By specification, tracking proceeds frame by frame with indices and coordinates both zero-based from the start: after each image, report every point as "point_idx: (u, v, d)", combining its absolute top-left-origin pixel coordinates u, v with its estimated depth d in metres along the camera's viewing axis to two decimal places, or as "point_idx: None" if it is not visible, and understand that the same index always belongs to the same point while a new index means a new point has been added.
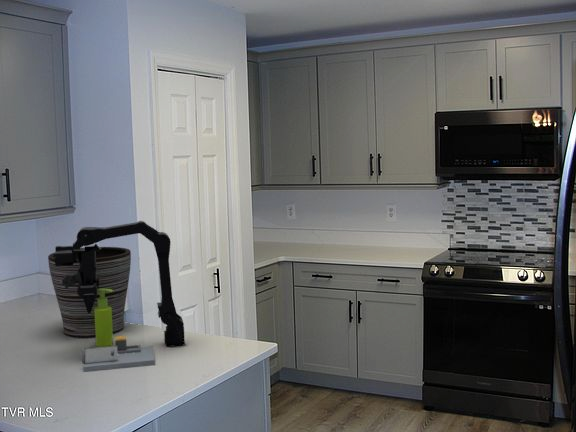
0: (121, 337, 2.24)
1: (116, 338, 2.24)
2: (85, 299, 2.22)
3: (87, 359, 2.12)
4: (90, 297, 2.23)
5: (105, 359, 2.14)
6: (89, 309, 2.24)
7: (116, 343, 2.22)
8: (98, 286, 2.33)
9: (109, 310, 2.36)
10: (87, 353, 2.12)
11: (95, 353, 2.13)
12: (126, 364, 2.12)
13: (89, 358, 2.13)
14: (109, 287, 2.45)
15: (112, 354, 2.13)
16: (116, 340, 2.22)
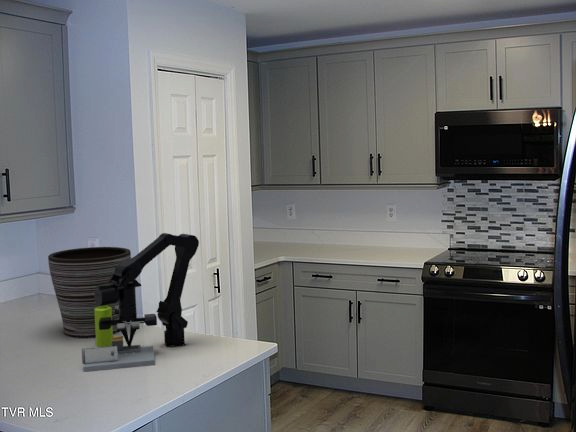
0: (118, 337, 2.24)
1: (113, 338, 2.23)
2: None
3: (87, 359, 2.12)
4: None
5: (105, 359, 2.14)
6: None
7: (113, 343, 2.22)
8: (130, 329, 2.22)
9: (109, 310, 2.35)
10: (87, 353, 2.12)
11: (95, 353, 2.13)
12: (126, 364, 2.12)
13: (89, 358, 2.13)
14: None
15: (112, 354, 2.13)
16: (113, 340, 2.22)
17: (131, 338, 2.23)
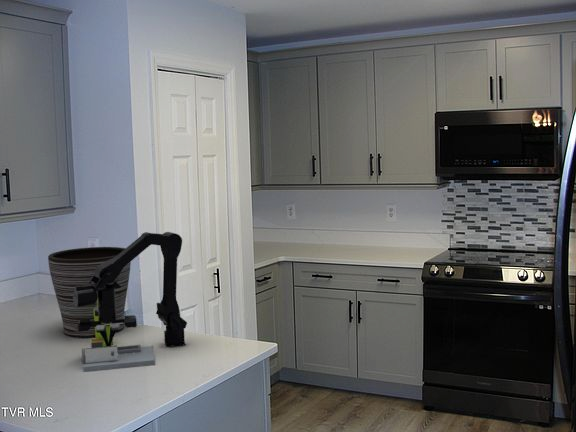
0: (97, 339, 2.22)
1: (93, 340, 2.22)
2: None
3: (87, 359, 2.12)
4: None
5: (105, 359, 2.14)
6: None
7: (92, 345, 2.21)
8: None
9: None
10: (87, 353, 2.12)
11: (95, 353, 2.13)
12: (126, 364, 2.12)
13: (89, 358, 2.13)
14: None
15: (112, 354, 2.13)
16: (92, 342, 2.21)
17: (110, 340, 2.22)
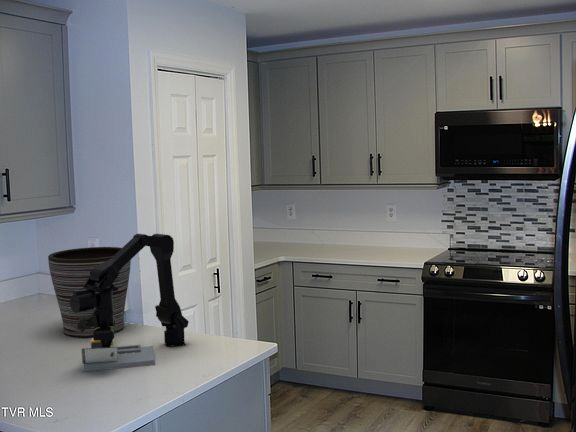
0: None
1: (92, 340, 2.22)
2: (102, 340, 2.13)
3: (87, 359, 2.12)
4: None
5: (105, 360, 2.13)
6: None
7: (92, 345, 2.21)
8: (114, 331, 2.16)
9: None
10: (87, 353, 2.12)
11: (95, 353, 2.12)
12: (126, 364, 2.12)
13: (89, 358, 2.12)
14: None
15: (111, 355, 2.12)
16: (92, 342, 2.21)
17: None
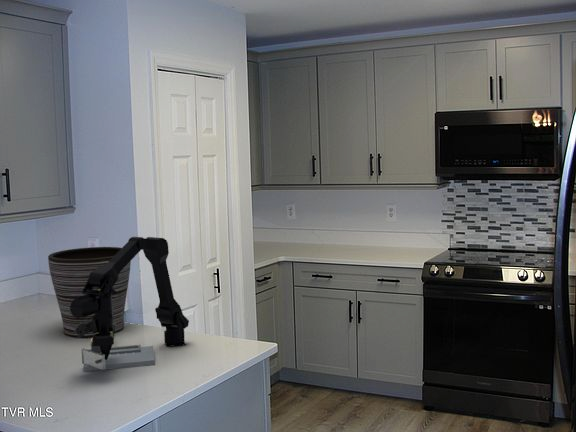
0: None
1: None
2: (101, 345, 2.07)
3: (84, 360, 2.12)
4: None
5: (95, 365, 2.08)
6: (105, 356, 2.09)
7: (92, 345, 2.21)
8: None
9: None
10: (84, 354, 2.11)
11: (89, 356, 2.10)
12: (126, 364, 2.12)
13: (85, 360, 2.11)
14: None
15: (96, 362, 2.06)
16: None
17: None
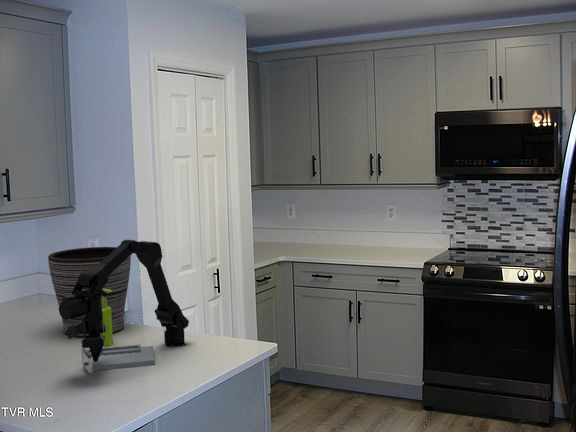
0: None
1: None
2: (91, 348, 2.04)
3: None
4: None
5: (86, 367, 2.07)
6: (96, 358, 2.06)
7: None
8: (104, 338, 2.07)
9: (108, 310, 2.35)
10: (82, 354, 2.11)
11: (84, 357, 2.09)
12: (126, 364, 2.12)
13: (83, 360, 2.11)
14: (109, 287, 2.45)
15: (83, 364, 2.04)
16: None
17: None
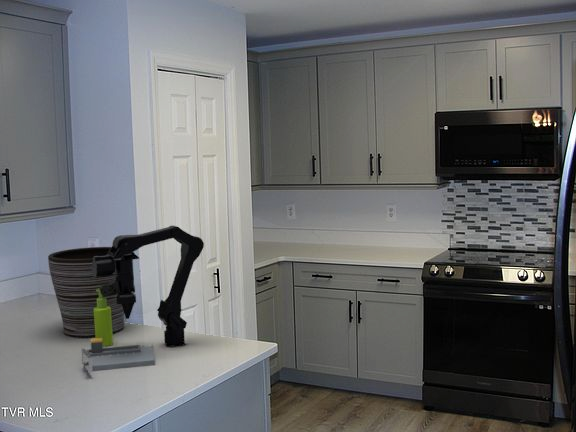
0: (97, 339, 2.22)
1: (92, 340, 2.22)
2: (124, 305, 2.24)
3: None
4: (128, 303, 2.25)
5: (86, 367, 2.07)
6: (127, 315, 2.26)
7: (92, 345, 2.21)
8: None
9: (108, 310, 2.35)
10: (82, 354, 2.11)
11: (84, 357, 2.09)
12: (126, 364, 2.12)
13: (83, 360, 2.11)
14: None
15: (83, 364, 2.04)
16: (92, 342, 2.21)
17: None
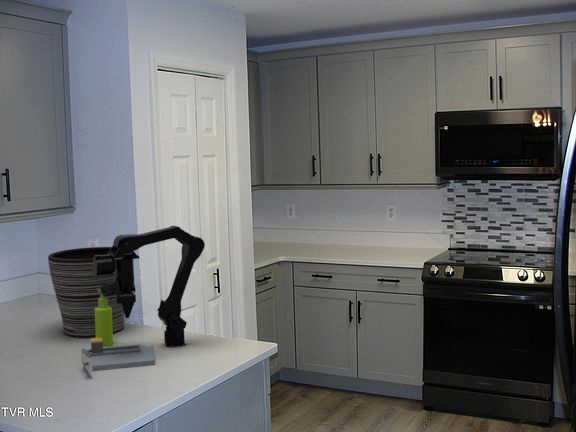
0: (97, 339, 2.22)
1: (92, 340, 2.22)
2: (124, 304, 2.25)
3: None
4: (128, 302, 2.25)
5: (86, 367, 2.07)
6: (127, 314, 2.26)
7: (92, 345, 2.21)
8: None
9: (109, 310, 2.35)
10: (82, 354, 2.11)
11: (84, 357, 2.09)
12: (126, 364, 2.12)
13: (83, 360, 2.11)
14: None
15: (83, 364, 2.04)
16: (92, 342, 2.21)
17: None
